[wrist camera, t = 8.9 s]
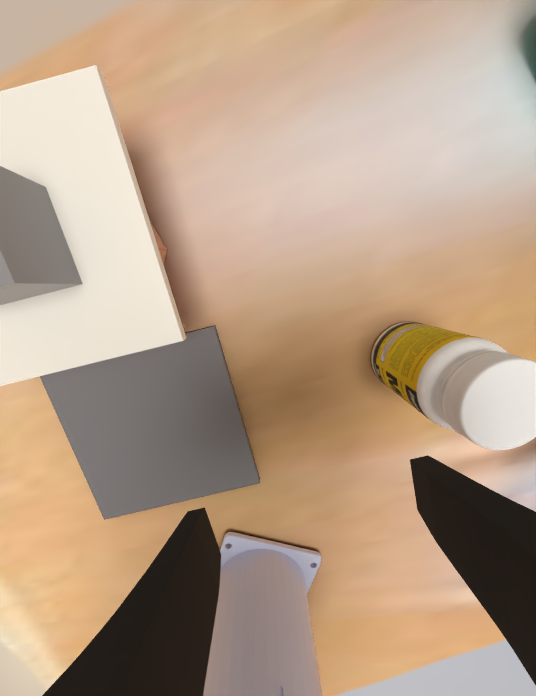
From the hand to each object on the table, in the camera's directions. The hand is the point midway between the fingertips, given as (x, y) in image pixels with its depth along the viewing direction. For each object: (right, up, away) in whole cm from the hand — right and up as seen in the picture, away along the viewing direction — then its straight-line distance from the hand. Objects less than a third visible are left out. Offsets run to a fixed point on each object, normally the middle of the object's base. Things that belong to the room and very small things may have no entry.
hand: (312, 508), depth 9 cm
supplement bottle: (+8, +5, +10) cm, 14 cm away
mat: (-9, 0, +10) cm, 14 cm away
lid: (-12, +10, +3) cm, 16 cm away
